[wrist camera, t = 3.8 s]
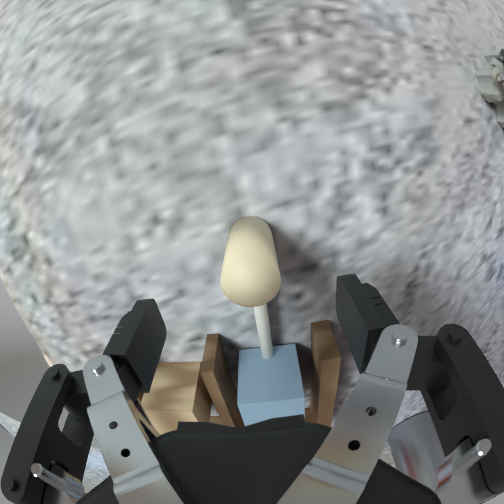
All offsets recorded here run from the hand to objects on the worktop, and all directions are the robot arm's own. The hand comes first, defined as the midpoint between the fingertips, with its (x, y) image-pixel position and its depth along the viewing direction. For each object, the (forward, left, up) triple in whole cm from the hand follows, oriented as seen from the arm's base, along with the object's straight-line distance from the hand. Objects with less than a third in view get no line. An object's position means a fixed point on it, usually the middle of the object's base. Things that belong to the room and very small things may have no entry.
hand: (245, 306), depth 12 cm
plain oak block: (+9, +15, -8) cm, 19 cm away
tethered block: (0, +7, -8) cm, 11 cm away
